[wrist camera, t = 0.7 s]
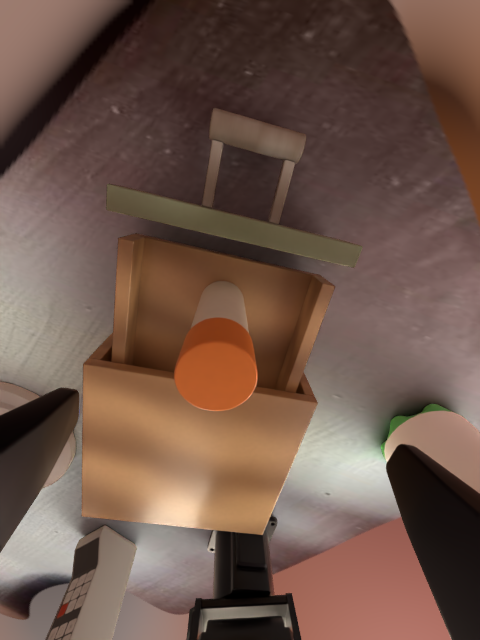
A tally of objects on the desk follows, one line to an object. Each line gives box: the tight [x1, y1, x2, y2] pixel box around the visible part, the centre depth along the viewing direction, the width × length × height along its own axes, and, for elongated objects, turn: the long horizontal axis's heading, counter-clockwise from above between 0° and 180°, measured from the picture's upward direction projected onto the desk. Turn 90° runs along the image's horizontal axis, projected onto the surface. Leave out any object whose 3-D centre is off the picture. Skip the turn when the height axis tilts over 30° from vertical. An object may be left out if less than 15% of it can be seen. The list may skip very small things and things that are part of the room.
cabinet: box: [82, 333, 318, 535], centre depth 21 cm, size 14×14×5 cm
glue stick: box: [174, 281, 258, 411], centre depth 13 cm, size 3×3×8 cm
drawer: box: [106, 108, 362, 393], centre depth 16 cm, size 18×13×3 cm
